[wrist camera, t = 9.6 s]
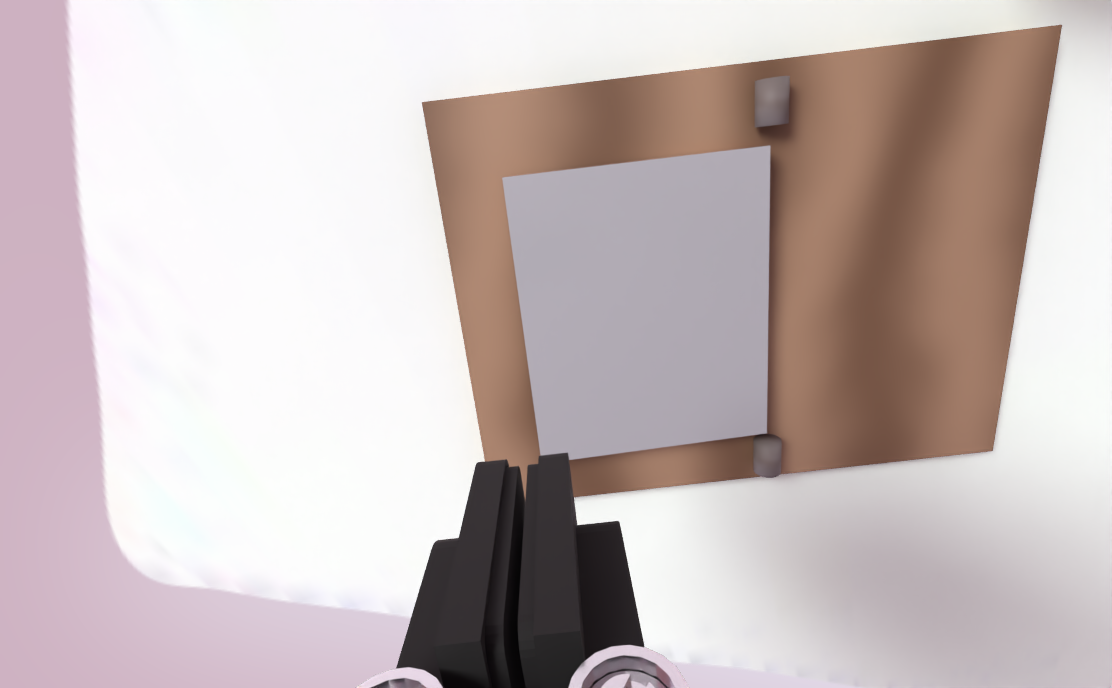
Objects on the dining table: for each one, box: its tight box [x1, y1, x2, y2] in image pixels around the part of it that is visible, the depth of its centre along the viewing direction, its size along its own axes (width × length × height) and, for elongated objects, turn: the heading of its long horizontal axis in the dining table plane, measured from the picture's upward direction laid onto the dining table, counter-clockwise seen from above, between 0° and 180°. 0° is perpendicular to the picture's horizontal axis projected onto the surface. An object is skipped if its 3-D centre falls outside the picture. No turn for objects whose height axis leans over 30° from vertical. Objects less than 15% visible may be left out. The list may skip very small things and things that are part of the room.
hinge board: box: [422, 25, 1062, 499], centre depth 23 cm, size 24×18×2 cm
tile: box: [502, 146, 770, 460], centre depth 23 cm, size 10×12×1 cm
